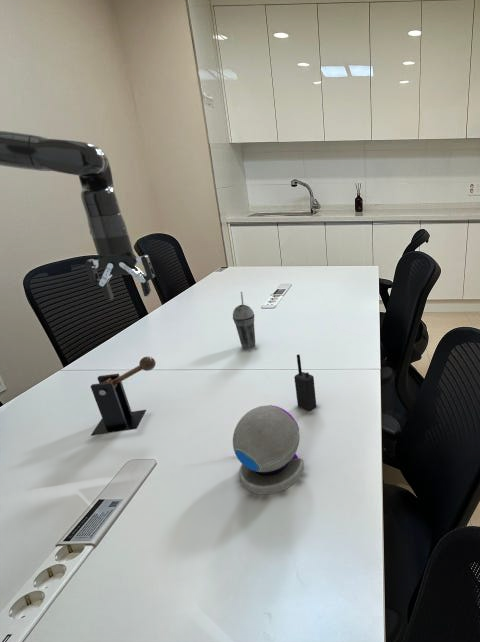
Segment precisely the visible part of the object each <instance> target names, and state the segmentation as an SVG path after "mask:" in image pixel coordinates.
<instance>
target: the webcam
mask: <svg viewBox="0 0 480 642" xmlns="http://www.w3.org/2000/svg"><path fill="white" fill-rule="evenodd" d="M300 435H301V434H300V428H299V425H298V423H297V420H296V419H295V418H294V417H293V415H292V414H291V413H290V412H288V411H287V410H285V409H284V408H282V407H280V406H277V405H272V404H270V405H269V404H268V405H267V404H266V405H260V406H256V407H254V408H252V409H250V410H249V411H247V412H246V413H245V414H243V416H242V417H241V418H240V419H239V421H238V422H237V424H236V426H235V428H234V431H233V435H232V448H233V451H234V455H235V456H236V458H237V460H238V461H239V463H241V465H240V468H239V478H240V483H241V485H242V486H243V487H244V489H246V490H247V491H249V492H251V493H254V494H259V495H270V494H275V493H280V492H282V491H285V490H286V489H288V488H289V487H291V486H293V485H294V484H295V483H296V482H298V480H299V479H300V478H301V476H302V474H303V472H304V466H305V464H304V459H303V458H302V457H299V456H298V455H297V454H296V453H297V451H298V449H299V446H300V439H301V438H300V437H301V436H300Z"/></svg>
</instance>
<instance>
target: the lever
mask: <svg viewBox="0 0 480 642" xmlns="http://www.w3.org/2000/svg"><path fill="white" fill-rule="evenodd" d="M156 365H157V362H156V360H155V359H154V357H152V356H143V357H142V358H141V359H140V360H139V364H138V365H137V366H135V367H133V368H132V369H130V370H128V371H126V372H125V373H123V374H121V375H119V377H118V378H116V379H114V380H112V379H111V378H109V379H107V380H105V381H103V382H102V383H107V382H113V384H114V387H115V388H116V386H117V383H119V382H123V381H124V380H127V379H129V378H130V377H132V376H133V375H135V374H137V373H139V372H140V371H141V372H142V370H143V371H144V372H145V371H146V372H150V371H152V370H153V369H154V368H155V367H156Z"/></svg>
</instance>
